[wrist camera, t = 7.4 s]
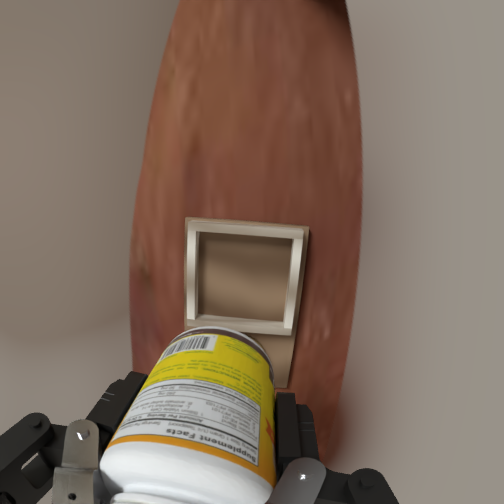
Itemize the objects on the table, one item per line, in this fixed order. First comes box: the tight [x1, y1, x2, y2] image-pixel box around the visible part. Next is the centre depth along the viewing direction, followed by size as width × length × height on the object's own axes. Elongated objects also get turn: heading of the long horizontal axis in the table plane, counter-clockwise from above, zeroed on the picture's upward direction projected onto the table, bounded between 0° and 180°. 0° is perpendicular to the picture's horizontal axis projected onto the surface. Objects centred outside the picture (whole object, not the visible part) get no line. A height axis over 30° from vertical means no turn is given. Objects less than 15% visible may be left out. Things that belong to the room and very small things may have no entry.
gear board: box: [184, 217, 309, 388], centre depth 28 cm, size 19×12×6 cm, turn 176°
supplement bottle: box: [99, 326, 277, 504], centre depth 8 cm, size 6×6×10 cm
